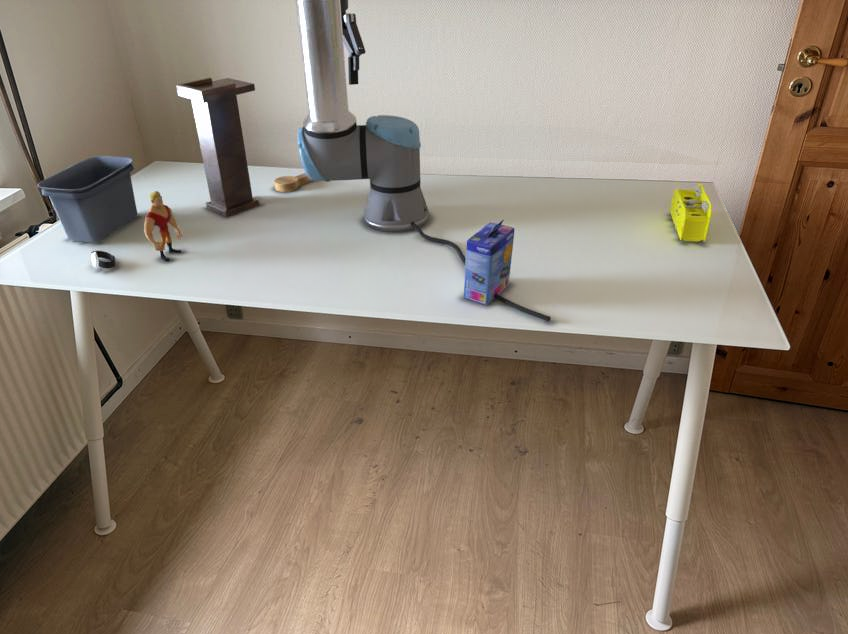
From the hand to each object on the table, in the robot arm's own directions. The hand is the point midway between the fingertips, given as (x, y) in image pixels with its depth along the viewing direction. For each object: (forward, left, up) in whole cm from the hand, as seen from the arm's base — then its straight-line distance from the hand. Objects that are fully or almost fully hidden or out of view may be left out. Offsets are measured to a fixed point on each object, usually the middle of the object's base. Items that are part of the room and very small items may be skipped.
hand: (336, 83), depth 181 cm
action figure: (-24, +60, -23) cm, 68 cm away
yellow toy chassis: (-86, -36, -23) cm, 96 cm away
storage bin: (+2, +68, -23) cm, 72 cm away
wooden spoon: (-2, +12, -23) cm, 26 cm away
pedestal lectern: (-6, +36, -23) cm, 43 cm away
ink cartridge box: (-80, +17, -23) cm, 85 cm away
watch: (-19, +73, -23) cm, 79 cm away
